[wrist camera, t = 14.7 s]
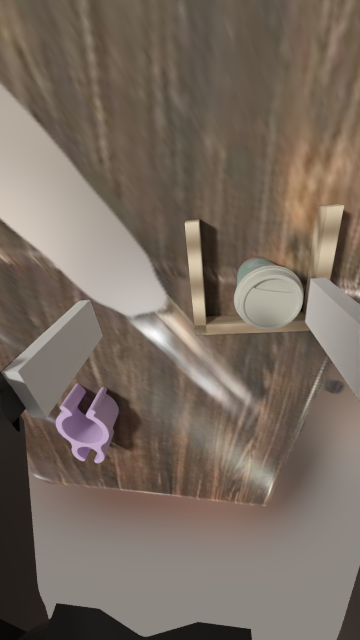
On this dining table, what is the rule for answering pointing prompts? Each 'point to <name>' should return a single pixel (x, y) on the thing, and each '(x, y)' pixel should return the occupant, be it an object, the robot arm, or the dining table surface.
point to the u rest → (318, 268)
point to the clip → (88, 423)
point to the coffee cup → (267, 294)
